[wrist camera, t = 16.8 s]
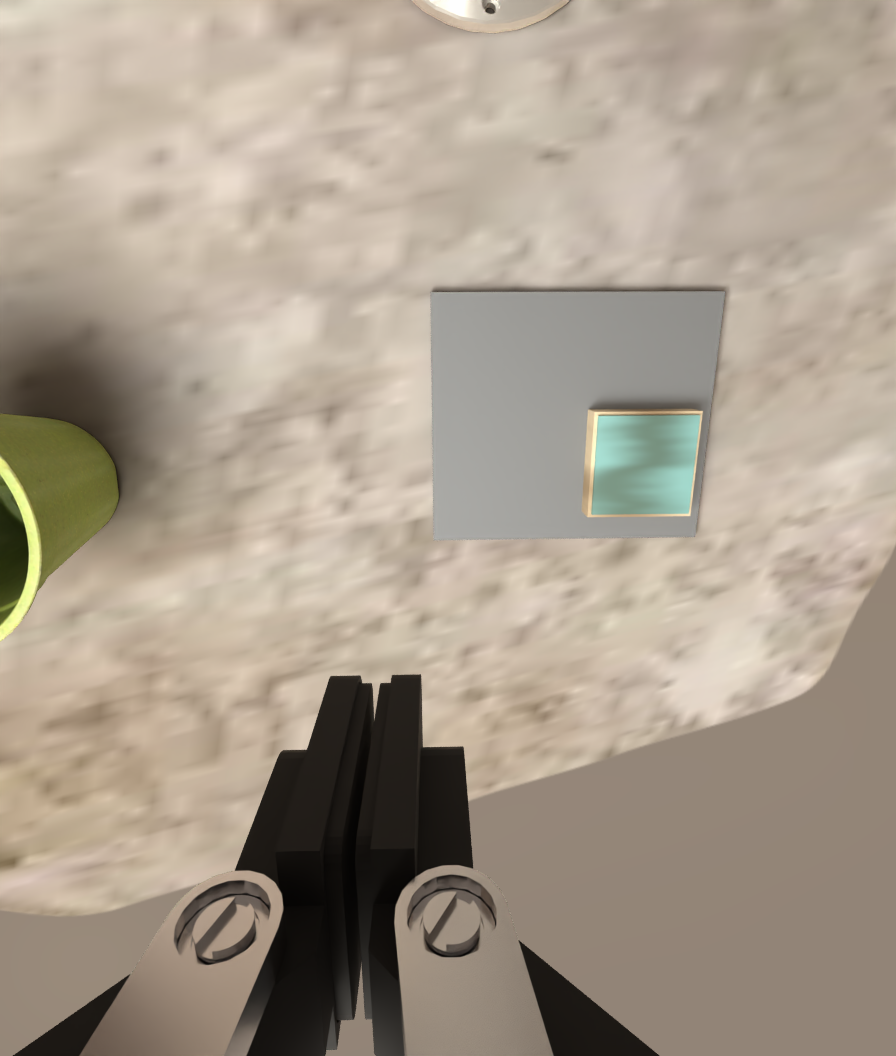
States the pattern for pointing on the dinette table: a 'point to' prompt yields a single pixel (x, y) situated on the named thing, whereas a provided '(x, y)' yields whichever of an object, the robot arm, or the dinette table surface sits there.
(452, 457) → the mat
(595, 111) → the dinette table surface
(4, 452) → the plant pot
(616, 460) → the tile
